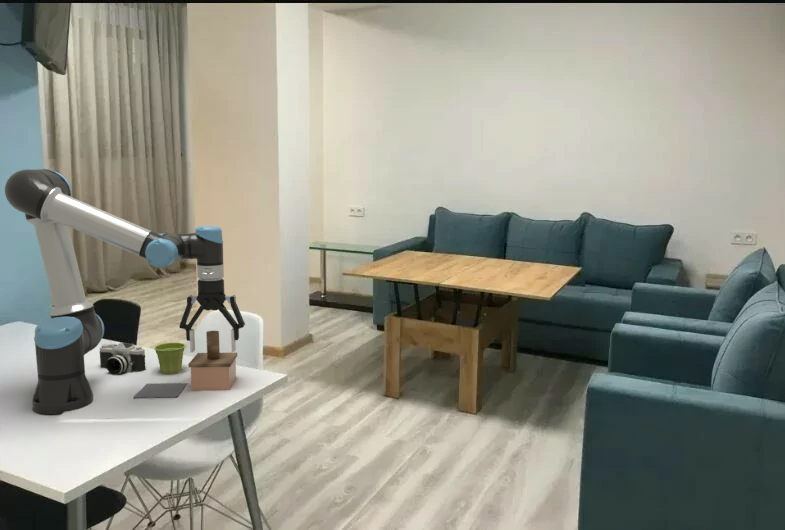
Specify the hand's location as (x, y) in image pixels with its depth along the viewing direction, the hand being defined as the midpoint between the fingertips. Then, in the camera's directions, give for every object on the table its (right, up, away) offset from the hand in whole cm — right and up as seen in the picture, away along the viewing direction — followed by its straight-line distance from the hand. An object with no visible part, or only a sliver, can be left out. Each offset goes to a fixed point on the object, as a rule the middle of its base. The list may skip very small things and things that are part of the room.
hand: (213, 350), depth 202 cm
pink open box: (0, -10, +1) cm, 10 cm away
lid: (0, -3, 0) cm, 3 cm away
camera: (-33, -9, +13) cm, 37 cm away
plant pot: (-17, -9, +12) cm, 23 cm away
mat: (-14, -11, -5) cm, 18 cm away
